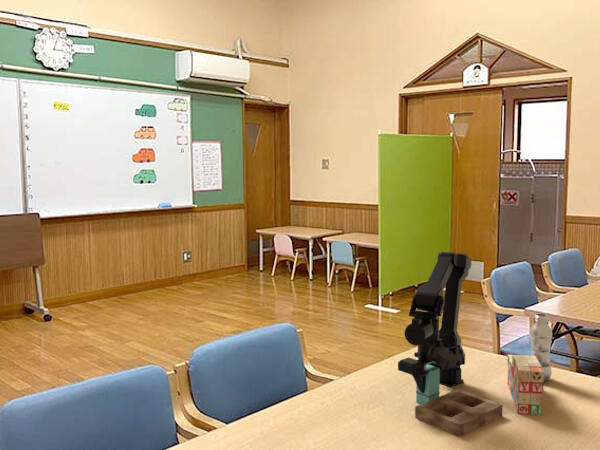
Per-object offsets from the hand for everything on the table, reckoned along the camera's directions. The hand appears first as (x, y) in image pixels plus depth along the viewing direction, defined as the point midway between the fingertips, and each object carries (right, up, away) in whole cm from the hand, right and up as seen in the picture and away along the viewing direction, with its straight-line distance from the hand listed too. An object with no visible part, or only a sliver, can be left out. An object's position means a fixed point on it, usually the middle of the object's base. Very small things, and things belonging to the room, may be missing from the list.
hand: (427, 390), depth 161 cm
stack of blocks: (+27, -3, +2) cm, 27 cm away
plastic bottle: (+37, -1, +16) cm, 41 cm away
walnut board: (+6, -4, -9) cm, 12 cm away
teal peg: (0, -4, 0) cm, 4 cm away
